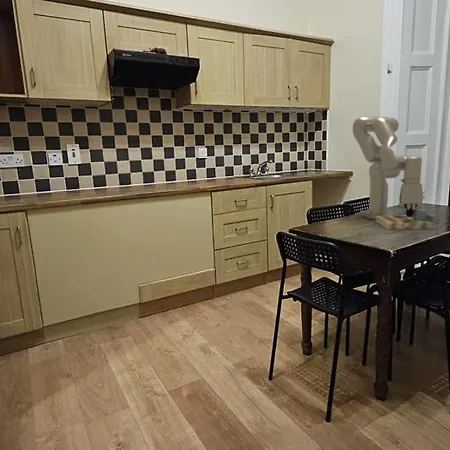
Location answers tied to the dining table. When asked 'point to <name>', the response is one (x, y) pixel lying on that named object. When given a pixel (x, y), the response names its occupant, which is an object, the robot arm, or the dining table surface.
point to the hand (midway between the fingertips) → (409, 216)
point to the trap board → (405, 222)
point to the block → (419, 214)
